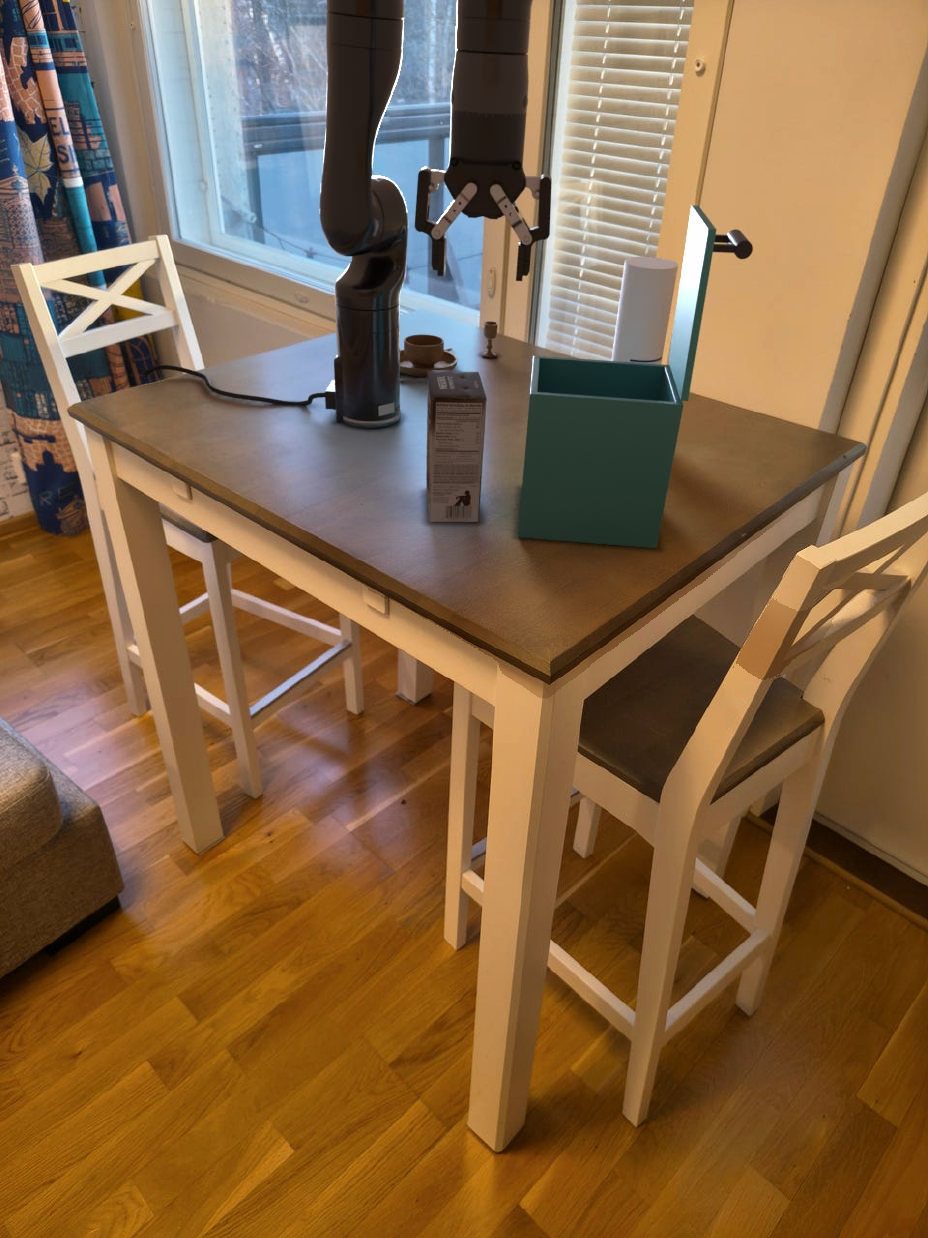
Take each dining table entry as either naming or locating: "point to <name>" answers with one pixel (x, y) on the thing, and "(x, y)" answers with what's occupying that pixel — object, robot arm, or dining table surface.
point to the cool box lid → (697, 291)
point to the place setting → (435, 353)
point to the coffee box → (454, 445)
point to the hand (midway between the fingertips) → (480, 277)
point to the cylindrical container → (644, 309)
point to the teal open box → (598, 451)
